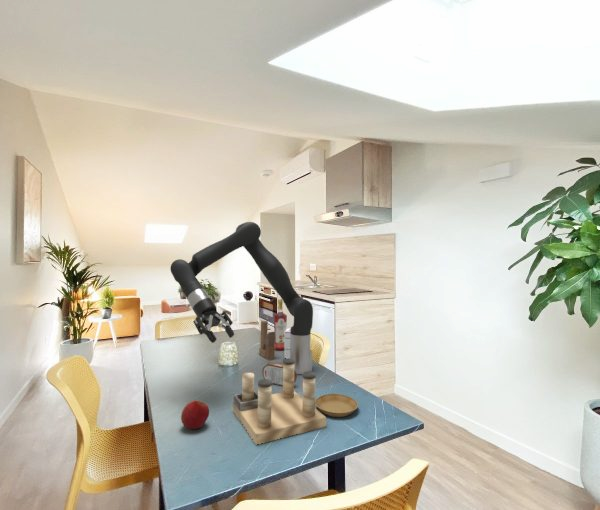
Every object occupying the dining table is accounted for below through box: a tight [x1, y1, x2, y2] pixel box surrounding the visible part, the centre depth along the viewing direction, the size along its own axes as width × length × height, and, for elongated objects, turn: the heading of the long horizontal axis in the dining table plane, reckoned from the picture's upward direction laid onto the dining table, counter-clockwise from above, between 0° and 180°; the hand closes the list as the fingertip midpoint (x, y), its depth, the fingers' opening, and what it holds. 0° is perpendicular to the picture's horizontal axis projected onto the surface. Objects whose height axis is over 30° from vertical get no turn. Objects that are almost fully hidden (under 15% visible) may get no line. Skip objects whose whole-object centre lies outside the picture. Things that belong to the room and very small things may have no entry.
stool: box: [232, 358, 327, 446], centre depth 110 cm, size 23×23×16 cm
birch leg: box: [241, 372, 255, 402], centre depth 113 cm, size 4×4×10 cm
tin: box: [261, 361, 298, 387], centre depth 138 cm, size 15×3×8 cm, turn 65°
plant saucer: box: [315, 393, 359, 418], centre depth 117 cm, size 15×15×3 cm
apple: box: [180, 399, 210, 430], centre depth 104 cm, size 8×8×8 cm
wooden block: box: [258, 320, 276, 361], centre depth 174 cm, size 4×11×18 cm, turn 33°
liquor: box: [273, 298, 288, 351], centre depth 189 cm, size 7×7×28 cm
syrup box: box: [283, 327, 291, 359], centre depth 174 cm, size 6×6×14 cm
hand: (223, 338), depth 119 cm, fingers open, 8 cm apart
